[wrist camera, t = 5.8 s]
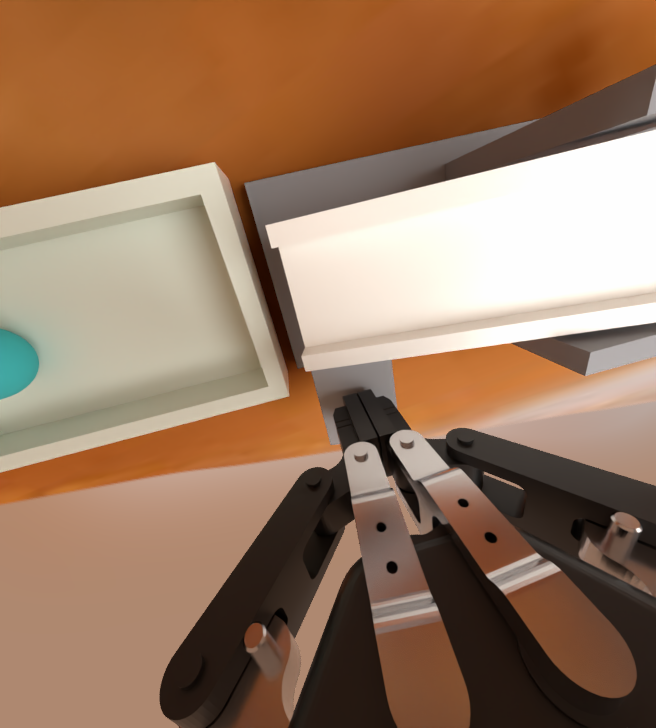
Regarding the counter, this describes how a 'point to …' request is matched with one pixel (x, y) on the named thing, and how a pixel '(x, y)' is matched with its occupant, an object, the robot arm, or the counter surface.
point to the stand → (459, 159)
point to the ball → (16, 364)
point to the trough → (473, 264)
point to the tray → (132, 313)
